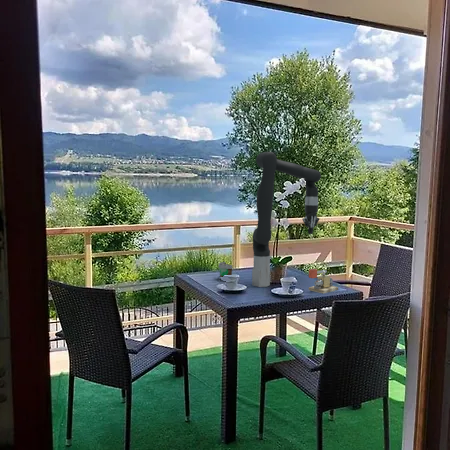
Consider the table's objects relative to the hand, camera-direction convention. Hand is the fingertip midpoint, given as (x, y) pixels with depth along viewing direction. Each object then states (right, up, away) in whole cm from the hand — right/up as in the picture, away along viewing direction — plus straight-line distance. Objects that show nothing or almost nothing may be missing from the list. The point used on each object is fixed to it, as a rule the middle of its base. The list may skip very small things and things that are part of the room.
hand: (310, 233), depth 280 cm
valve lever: (0, -23, -22) cm, 32 cm away
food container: (-51, -28, +5) cm, 58 cm away
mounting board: (+4, -30, -19) cm, 36 cm away
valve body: (+4, -29, -19) cm, 35 cm away
